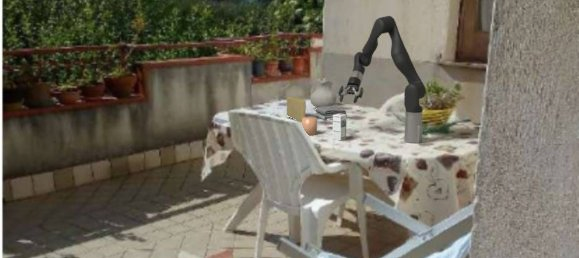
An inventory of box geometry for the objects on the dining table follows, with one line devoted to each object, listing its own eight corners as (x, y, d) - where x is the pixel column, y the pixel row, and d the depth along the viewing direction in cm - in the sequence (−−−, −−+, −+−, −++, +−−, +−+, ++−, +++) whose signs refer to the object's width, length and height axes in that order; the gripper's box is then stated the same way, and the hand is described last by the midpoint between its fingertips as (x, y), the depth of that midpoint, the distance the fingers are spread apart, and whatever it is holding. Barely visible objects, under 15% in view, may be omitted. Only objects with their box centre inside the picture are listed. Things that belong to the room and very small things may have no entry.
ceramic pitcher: (308, 108, 441) (306, 76, 436) (333, 106, 443) (332, 74, 438) (313, 113, 420) (310, 79, 415) (339, 111, 422) (337, 77, 417)
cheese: (311, 122, 380) (311, 100, 377) (297, 123, 377) (297, 101, 374) (299, 117, 401) (299, 95, 398) (286, 117, 398) (286, 96, 395)
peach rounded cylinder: (319, 133, 347) (319, 117, 345) (313, 136, 339) (313, 119, 337) (305, 132, 351) (306, 116, 349) (299, 134, 343) (299, 118, 341)
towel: (314, 117, 401) (314, 106, 400) (337, 115, 409) (337, 104, 407) (324, 121, 388) (324, 109, 386) (348, 119, 395) (348, 107, 393)
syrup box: (340, 140, 328) (341, 115, 325) (332, 139, 332) (332, 114, 329) (346, 139, 333) (347, 114, 330) (338, 137, 336) (338, 113, 333)
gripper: (342, 75, 346) (334, 96, 339) (365, 77, 340) (357, 98, 332) (345, 83, 352) (337, 104, 344) (367, 84, 346) (360, 106, 338)
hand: (347, 101), depth 338 cm, fingers open, 8 cm apart
